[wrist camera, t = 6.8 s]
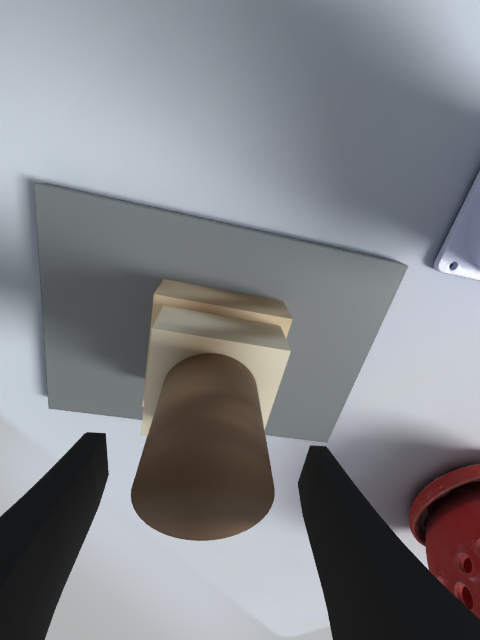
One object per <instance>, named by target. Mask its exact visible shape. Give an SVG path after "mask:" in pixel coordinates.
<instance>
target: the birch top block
mask: <svg viewBox="0 0 480 640" xmlns="http://www.w3.org/2000/svg"><path fill="white" fill-rule="evenodd" d="M290 352H291V350H290V348H289V345H288V343H287V340H286V338H285V335H284V333H283V331H282V328H281V326H277V325H271V324H266V323H260V322H254V321H249V320H243V319H237V318H232V317H226V316H220V315H215V314H209V313H203V312H198V311H192V310H186V309H181V308H175V307H169V306H164V305H163V307H162V309H161V311H160V313H159V315H158V317H157V319H156V321H155V323H154V325H153V327H152V334H151V343H150V353H149V362H148V372H147V381H146V391H145V401H144V410H143V420H142V429H141V435H145V436H148V433H149V429H150V426H151V423H152V419H153V416H154V413H155V409H156V406H157V403H158V399H159V396H160V393H161V389H162V386H163V383H164V380H165V377H166V375H167V374H168V372H169V371H170V370H171V369H172V368H173V367H174V366H175V365H176V364H177V363H179V362H180V361H182V360H184V359H186V358H188V357H190V356H194V355H198V354H204V353H216V354H222V355H226V356H229V357H232V358H234V359H236V360H238V361H239V362H241V363H242V364H244V365H245V366H246V367H247V368H248V369H249V370H250V372H251V373H252V375H253V376H254V378H255V381H256V384H257V389H258V395H259V401H260V407H261V413H262V419H263V425H264V430H265V427H266V424H267V421H268V418H269V415H270V412H271V409H272V406H273V403H274V400H275V397H276V394H277V391H278V388H279V385H280V382H281V379H282V376H283V373H284V370H285V367H286V364H287V361H288V358H289V355H290Z"/></svg>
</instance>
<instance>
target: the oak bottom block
mask: <svg viewBox="0 0 480 640" xmlns="http://www.w3.org/2000/svg"><path fill="white" fill-rule="evenodd" d="M163 305H164V306H169V307H175V308H181V309H186V310H192V311H198V312H203V313H209V314H215V315H220V316H226V317H232V318H237V319H243V320H249V321H254V322H260V323H266V324H271V325H277V326H281V328H282V331H283V333H284V335H285V338H287V335H288V332H289V329H290V326H291V323H292V320H293V319H292V317H291V315H290V313H289V311H288V309H287V307H286V305H285V304H284V302H283V301H278V300H273V299H268V298H262V297H257V296H252V295H246V294H241V293H236V292H231V291H225V290H220V289H215V288H209V287H204V286H199V285H194V284H188V283H183V282H178V281H172V280H167V279H163V280H162V282H161V284H160V285H159V287H158V288H157V290H156V292H155V293H154V298H153V308H152V318H151V327H150V337H149V347H148V357H147V366H146V376H145V386H144V396H143V406H142V407H144V401H145V391H146V381H147V372H148V362H149V353H150V343H151V334H152V327H153V325H154V323H155V321H156V319H157V317H158V315H159V313H160V311H161V309H162V307H163Z"/></svg>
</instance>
